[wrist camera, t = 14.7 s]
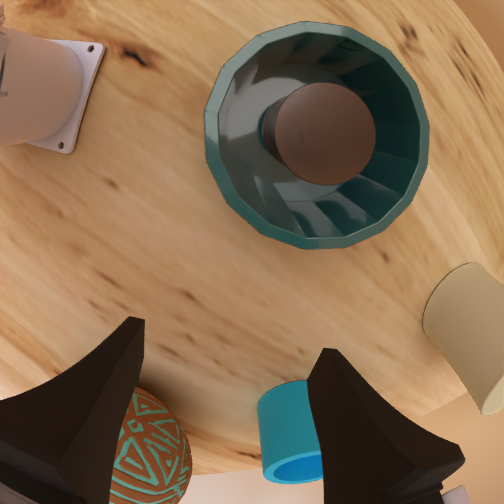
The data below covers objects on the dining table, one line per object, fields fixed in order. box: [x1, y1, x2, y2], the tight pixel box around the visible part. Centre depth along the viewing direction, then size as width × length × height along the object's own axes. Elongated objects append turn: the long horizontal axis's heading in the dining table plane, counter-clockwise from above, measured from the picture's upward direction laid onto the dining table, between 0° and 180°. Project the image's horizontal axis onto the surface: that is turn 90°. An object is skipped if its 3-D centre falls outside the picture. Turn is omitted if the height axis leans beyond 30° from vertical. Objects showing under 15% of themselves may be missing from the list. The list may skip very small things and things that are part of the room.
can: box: [423, 263, 504, 416], centre depth 19 cm, size 9×9×12 cm
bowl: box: [204, 21, 430, 250], centre depth 14 cm, size 10×10×7 cm
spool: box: [263, 82, 376, 186], centre depth 14 cm, size 5×5×6 cm
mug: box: [257, 381, 323, 484], centre depth 24 cm, size 12×8×8 cm
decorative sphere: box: [109, 386, 192, 504], centre depth 20 cm, size 15×15×15 cm
